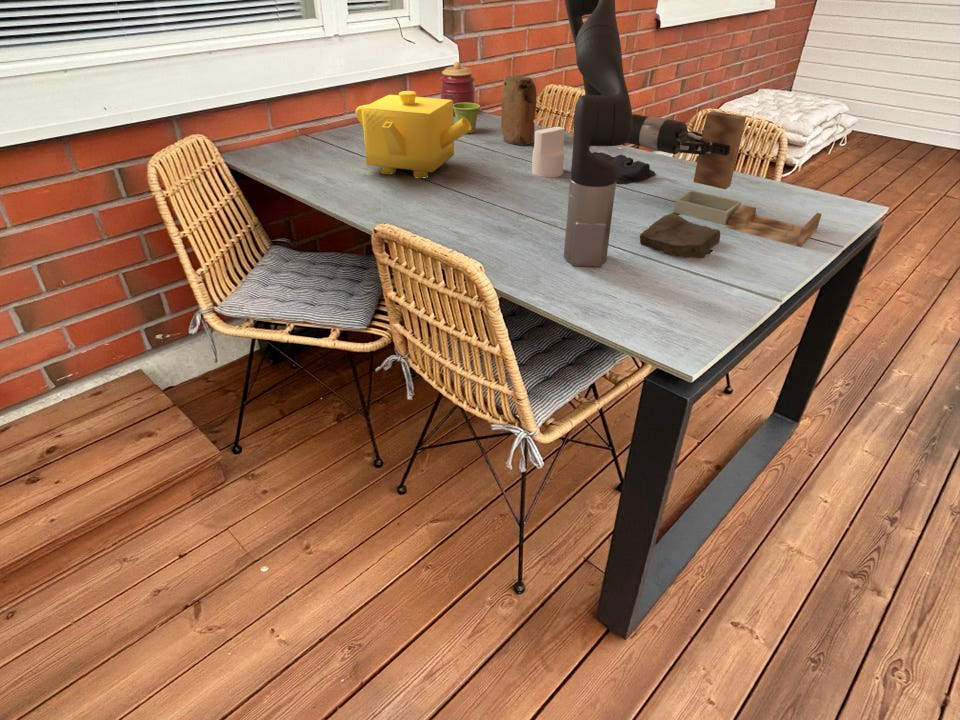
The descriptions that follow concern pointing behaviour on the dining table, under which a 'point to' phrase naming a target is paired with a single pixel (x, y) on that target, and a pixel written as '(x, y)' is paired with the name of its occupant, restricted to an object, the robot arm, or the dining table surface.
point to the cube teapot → (410, 132)
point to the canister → (457, 84)
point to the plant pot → (467, 113)
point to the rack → (771, 227)
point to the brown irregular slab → (680, 237)
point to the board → (717, 166)
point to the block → (518, 110)
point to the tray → (706, 207)
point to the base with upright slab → (548, 152)
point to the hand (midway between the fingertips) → (731, 148)
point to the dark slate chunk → (628, 168)
